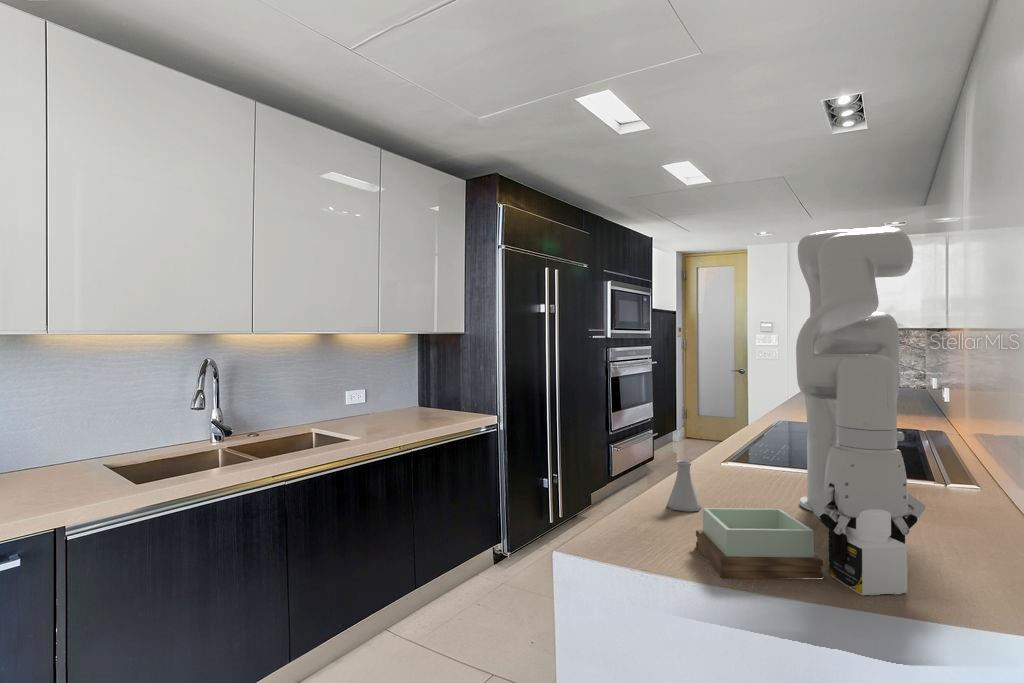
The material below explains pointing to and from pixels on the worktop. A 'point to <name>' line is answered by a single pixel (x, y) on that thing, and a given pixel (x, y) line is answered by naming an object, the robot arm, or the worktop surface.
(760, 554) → the sage crate
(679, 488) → the flask
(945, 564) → the worktop surface
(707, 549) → the brown wooden flat block
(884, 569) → the medicine bottle
